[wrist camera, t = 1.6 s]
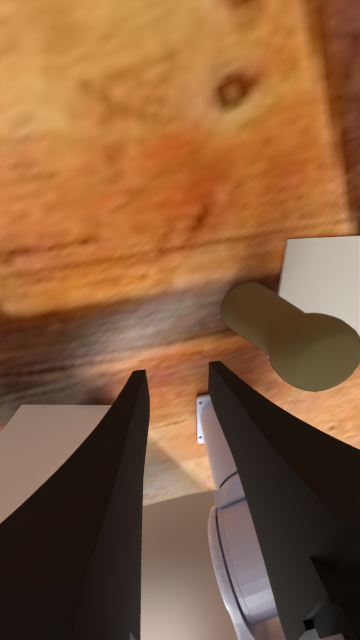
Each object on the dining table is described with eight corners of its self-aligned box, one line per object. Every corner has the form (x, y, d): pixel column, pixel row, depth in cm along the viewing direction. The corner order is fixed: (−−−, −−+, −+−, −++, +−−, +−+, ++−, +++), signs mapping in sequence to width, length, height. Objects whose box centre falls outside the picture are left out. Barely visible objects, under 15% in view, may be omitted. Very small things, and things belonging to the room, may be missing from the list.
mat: (355, 346, 24) (357, 347, 24) (266, 356, 23) (267, 357, 23) (399, 233, 19) (402, 233, 19) (286, 239, 18) (288, 239, 18)
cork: (271, 275, 19) (399, 306, 9) (271, 324, 22) (373, 393, 11) (217, 289, 19) (286, 336, 9) (224, 337, 21) (284, 417, 11)
